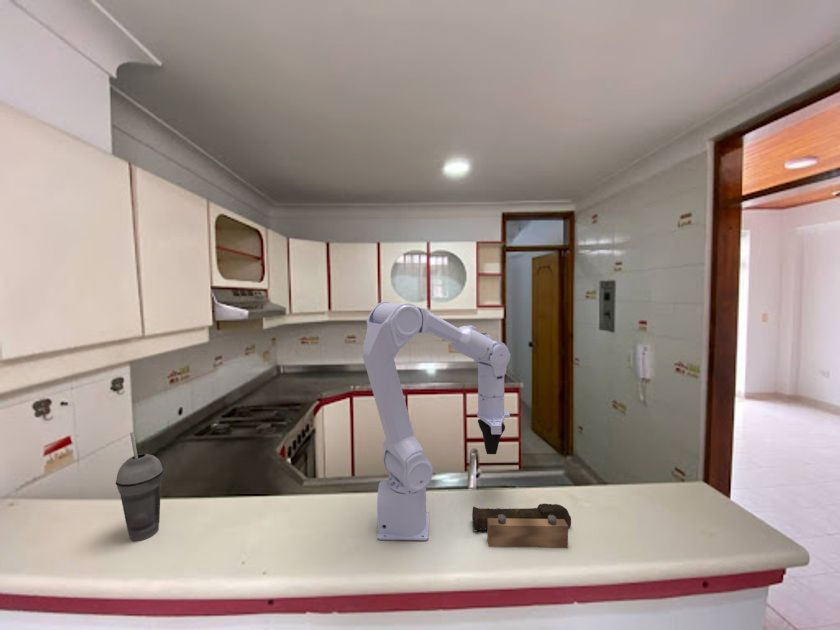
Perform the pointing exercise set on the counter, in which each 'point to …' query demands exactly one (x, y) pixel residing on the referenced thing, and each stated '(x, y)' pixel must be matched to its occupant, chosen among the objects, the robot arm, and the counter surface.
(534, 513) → the hand tool
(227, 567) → the counter surface
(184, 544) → the counter surface
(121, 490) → the beverage cup
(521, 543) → the stop rail
